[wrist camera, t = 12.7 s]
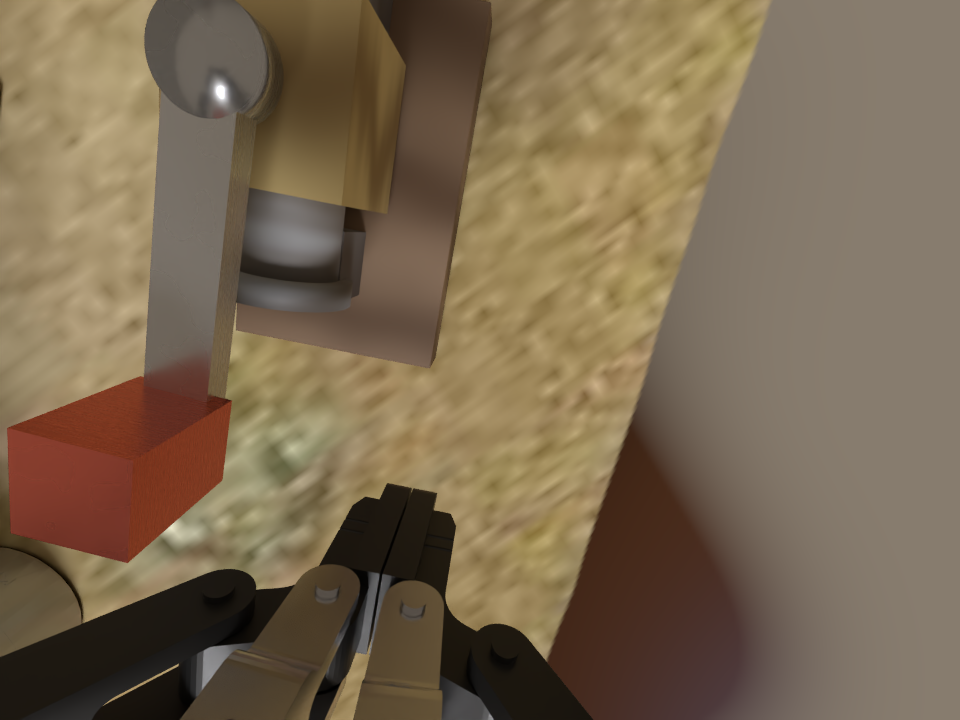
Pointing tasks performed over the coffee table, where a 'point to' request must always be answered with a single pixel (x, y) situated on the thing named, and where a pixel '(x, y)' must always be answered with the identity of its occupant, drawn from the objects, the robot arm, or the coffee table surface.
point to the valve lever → (164, 306)
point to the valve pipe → (361, 172)
